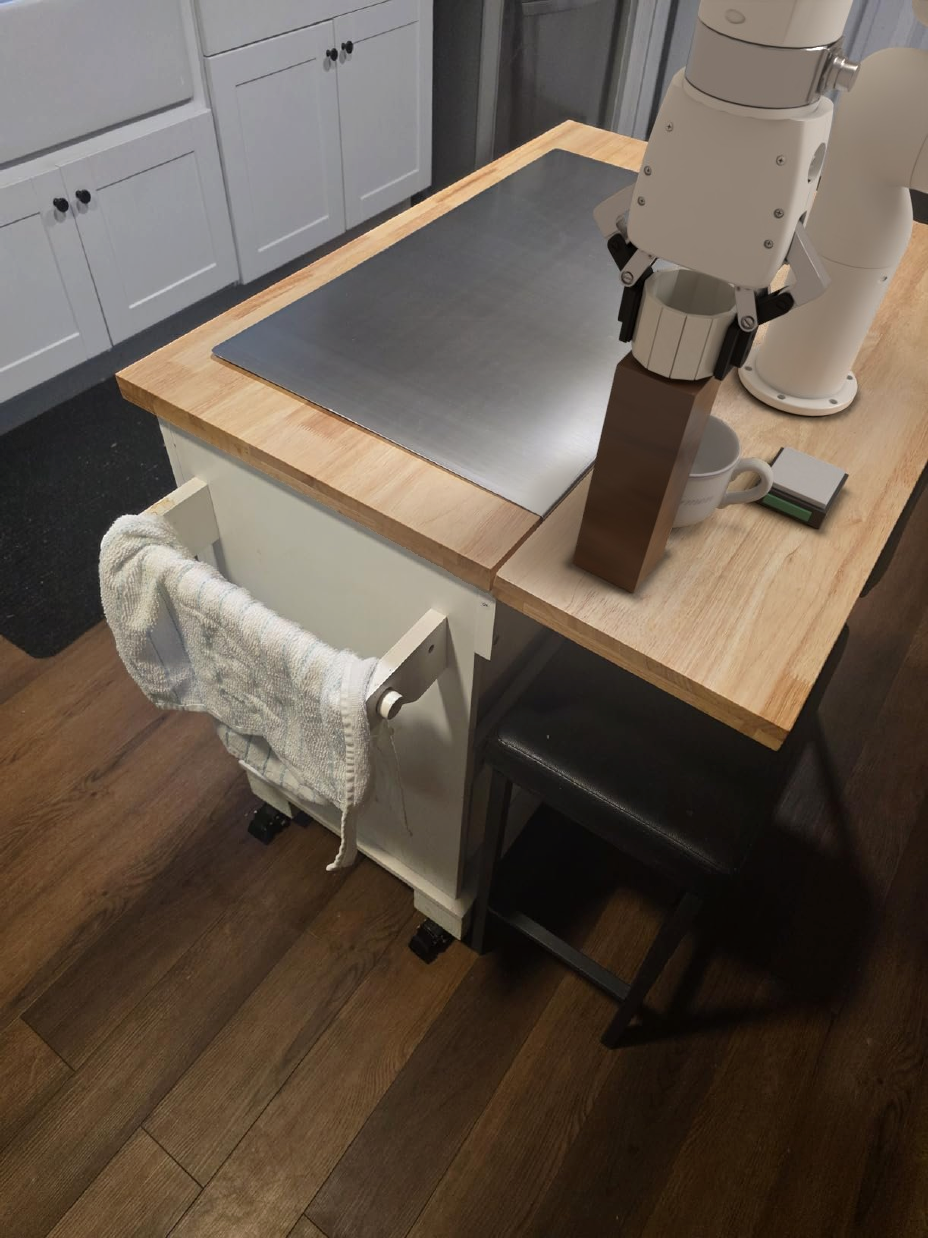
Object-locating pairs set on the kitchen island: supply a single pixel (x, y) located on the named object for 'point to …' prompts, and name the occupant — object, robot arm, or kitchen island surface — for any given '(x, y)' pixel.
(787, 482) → the scale
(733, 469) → the teacup
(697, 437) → the block
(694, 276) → the white faceted cup
